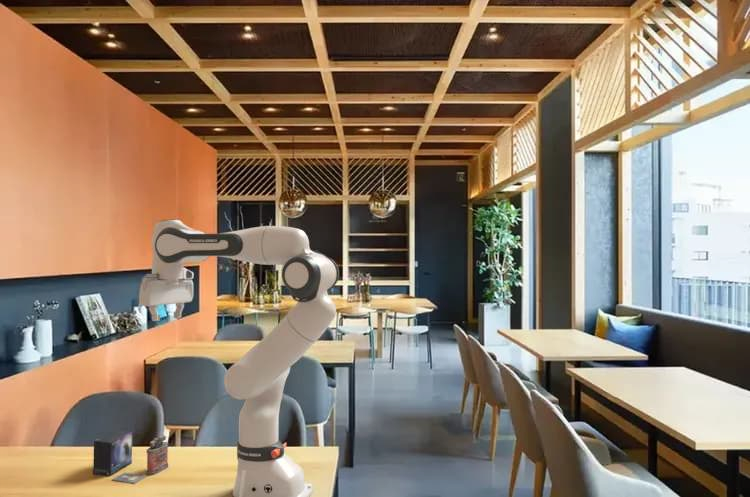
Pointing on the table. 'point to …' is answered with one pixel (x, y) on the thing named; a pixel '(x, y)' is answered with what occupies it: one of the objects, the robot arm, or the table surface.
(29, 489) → the table surface
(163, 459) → the lighter
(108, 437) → the small box
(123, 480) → the card
